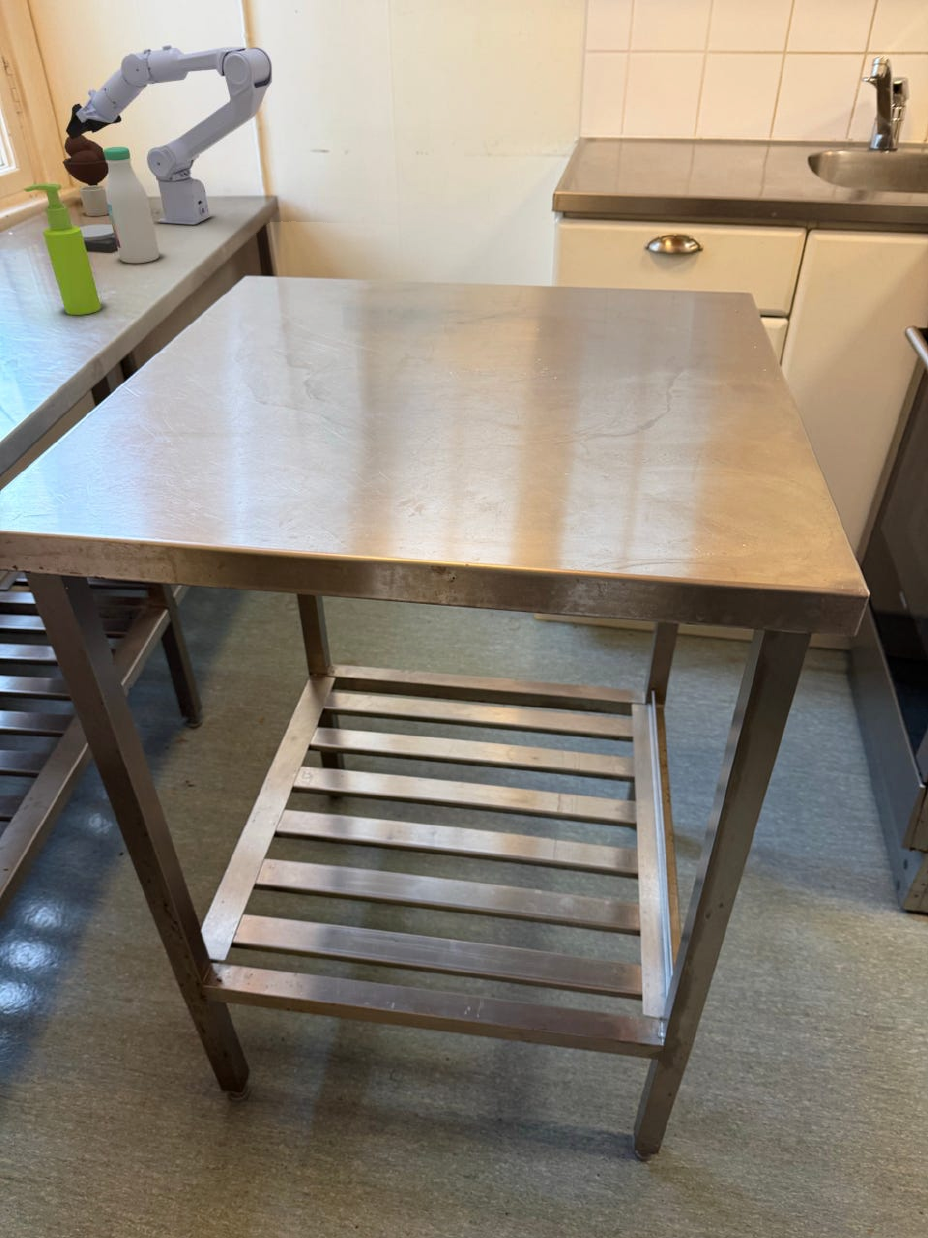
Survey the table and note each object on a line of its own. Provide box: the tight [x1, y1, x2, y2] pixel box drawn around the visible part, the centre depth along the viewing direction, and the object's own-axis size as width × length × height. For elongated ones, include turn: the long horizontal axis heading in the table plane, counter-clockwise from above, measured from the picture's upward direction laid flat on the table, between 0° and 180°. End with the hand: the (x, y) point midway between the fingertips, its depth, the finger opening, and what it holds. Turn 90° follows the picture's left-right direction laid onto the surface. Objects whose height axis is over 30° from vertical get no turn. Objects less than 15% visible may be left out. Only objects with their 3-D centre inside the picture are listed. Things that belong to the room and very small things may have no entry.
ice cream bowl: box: [62, 134, 109, 186], centre depth 216 cm, size 11×11×15 cm
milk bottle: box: [103, 146, 160, 264], centre depth 174 cm, size 8×8×20 cm
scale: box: [79, 224, 118, 254], centre depth 189 cm, size 13×11×3 cm
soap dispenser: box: [24, 182, 102, 316], centre depth 150 cm, size 6×7×20 cm
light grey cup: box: [78, 184, 110, 217], centre depth 209 cm, size 6×6×6 cm
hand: (80, 131), depth 200 cm, fingers open, 7 cm apart
